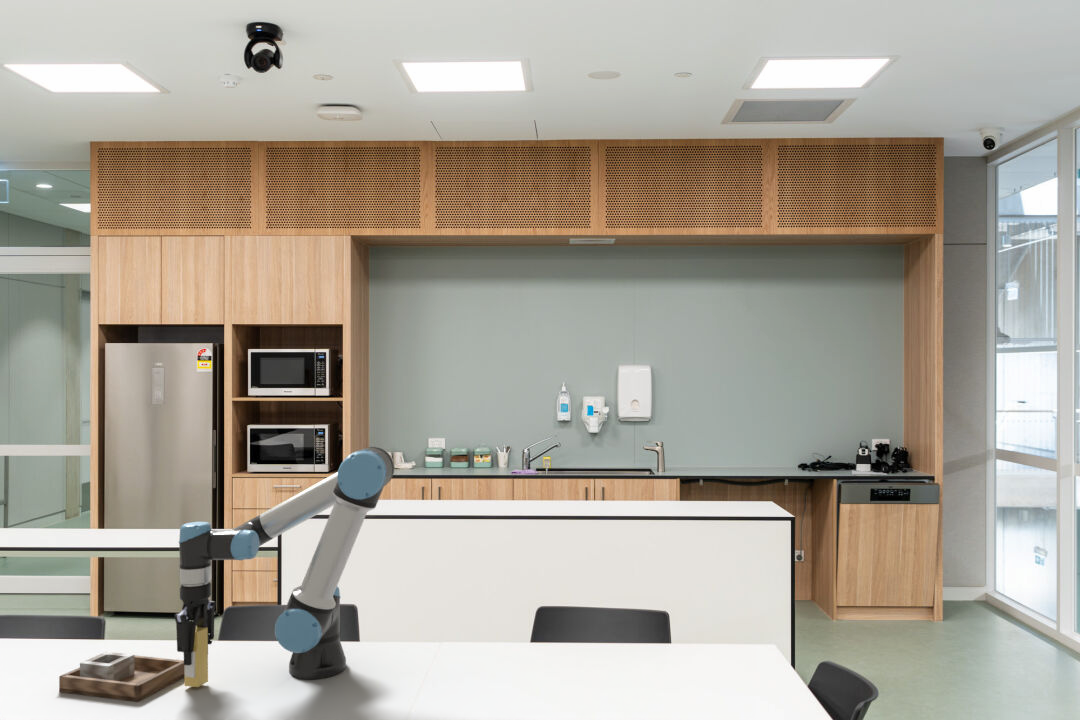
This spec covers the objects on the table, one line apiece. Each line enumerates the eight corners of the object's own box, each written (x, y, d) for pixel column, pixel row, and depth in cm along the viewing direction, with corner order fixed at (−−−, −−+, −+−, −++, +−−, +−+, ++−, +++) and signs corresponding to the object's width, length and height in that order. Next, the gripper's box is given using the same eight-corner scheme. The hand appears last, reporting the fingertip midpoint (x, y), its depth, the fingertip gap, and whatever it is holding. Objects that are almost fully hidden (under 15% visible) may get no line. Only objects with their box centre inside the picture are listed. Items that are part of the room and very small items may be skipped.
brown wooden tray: (187, 675, 222) (187, 653, 222) (138, 701, 204) (138, 677, 204) (112, 667, 228) (113, 645, 228) (59, 692, 210) (59, 668, 211)
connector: (208, 681, 215) (207, 627, 216) (197, 687, 212) (197, 632, 212) (194, 680, 216) (194, 626, 217) (184, 685, 213) (184, 631, 213)
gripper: (204, 574, 224) (205, 660, 223) (160, 590, 207) (160, 684, 207) (228, 575, 222) (229, 663, 221) (185, 592, 205) (186, 686, 205)
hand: (196, 673), depth 214 cm, fingers closed on connector, 4 cm apart
